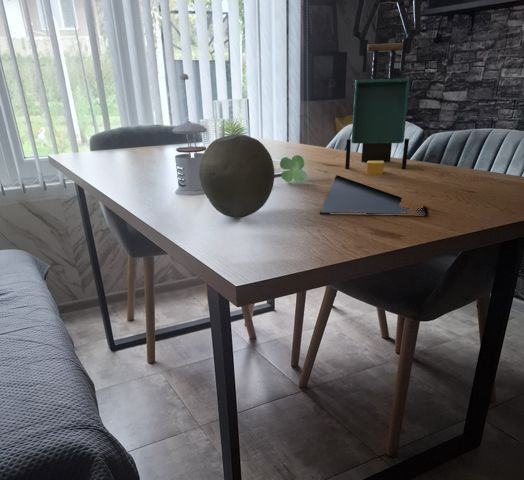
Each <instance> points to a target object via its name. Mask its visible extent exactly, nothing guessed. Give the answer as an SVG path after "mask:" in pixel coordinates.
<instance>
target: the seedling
mask: <svg viewBox="0 0 524 480" xmlns="http://www.w3.org/2000/svg"><path fill="white" fill-rule="evenodd" d="M279 166H280V169H282V170H283V171H282V172H281V174H280V175H281V179H282V180H284V181H285V182H287V183H291V182H292V181H294V182H295V183H301V182H303V181H305V180H306V179H307V175H308V174H307V173H306V171H305V170H303V168H304V167H305V160H304V158H303V156H301V155H299V154H295V155H293V156H292V158H289V157H287V156H284V157H282V158H281V159H280V160H279Z"/></svg>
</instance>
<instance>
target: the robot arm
mask: <svg viewBox="0 0 524 480" xmlns="http://www.w3.org/2000/svg"><path fill="white" fill-rule="evenodd" d="M388 3H390V4H396V5H397V7H398V12H399V14H400V19H401V21H402V26H403V28H404V32H405V35H406V37H404V38H402V43H403V44H402V51H401V56H400V66H399V71H401V72H404V70H405V69H404V68H405V58H406V55H409V54H410V53H411V50H412V49H411V48H412V39H413V38H414V37H415V36H417V35H419V34H420V33H421V31H422V25H421V23H422V21H421V0H413V2H412V3H413V22H414V23H413V25H414V29H412V27H411V23H410V20H409V17H408V13H407V10H406V6H405V2H404V0H374V2H373V4H372V8H371V10H370V11H369V14H368V17H367V19H366V21H365V24H364V26H363V27H362V30H361V32H360V27H361V23H362V22H361V21H362V17H363V13H364V9H365V4H366V0H358V4H357V9H356V14H355V19H354V24H353V29H352V37H353V38H356V39H358V40H359V47H358V48H359V49H358V54H359V57H363V61H362V73H366V72H367V68H368V67H367V65H368V53H369V52H368V45H369V39H366V37H368V36H367V35H368V33H369V31H370V29H371V26H372V24H373V22H374V20H375V17H376V15H377V12H378V10H379V8H380V6H381V4H382V5H384V4H388Z"/></svg>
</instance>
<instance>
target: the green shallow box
mask: <svg viewBox="0 0 524 480" xmlns="http://www.w3.org/2000/svg"><path fill="white" fill-rule="evenodd" d="M402 45H403V42H395V43H393V42H392V43H374V44H373V43H372V44H371V43H370V44H369V43H368V53H373V60H372V73H371V79H355V81H354V82H355V83H354V98H353V112H352V113H353V114H352V128H351V129H352V130H351V144H363V143H392V144H404V141H405V134H406V133H405V132H406V121H407V111H408V101H409V91H410V82H411V78H409V77H408V78H394V72H395V62H396V61H395V60H396V52H402ZM385 52H386V53H387V52H390V59H389V70H388V78H383V79H382V78H379V79H378V78H377V76H378V75H377V73H378V61H379V53H385Z"/></svg>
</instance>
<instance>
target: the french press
mask: <svg viewBox="0 0 524 480" xmlns="http://www.w3.org/2000/svg"><path fill="white" fill-rule="evenodd" d="M189 78H190V77H189V75H188V74H187V73H182V74H180V75H179V80H180V81H183V86H184V96H185V107H186V116H187V121H186V122H184V123H180V124H178V125H176V126H175V127H173V129H172V130H171V132H172V133H173V134H176V135H177V134H178V135H179V134H180V135H185V134H186V140H187V146H179V147H177V148H176V149H175V151H176V152H177V153H181V154H177V155H175V156H174V160H175V168H176V178H177V186H178V188H177V189H176V190H175V191H174V193H175V194H176V195H182V196H200V195H206V194H205V192H204V190H203V188H202V185H201V182H200V177H199V166H200V162H201V158H202V156H203V154H204V152H205V150H206V149H207V147H206V146H202V145H200V146H198V145H197V144H196V143H197V142H196V135H195V134H200V133H205V132H207V131H208V129H207V128H206V127H204V126H203V125H202V124H200V123H197V122H193V121H190V119H189V108H188V98H187V97H188V96H187V89H186V88H187V87H186V81H187V80H189ZM192 134H193V136H192V137H193V139H191V135H192ZM192 142H194V145H192ZM191 153H193V157H192V154H191Z"/></svg>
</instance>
